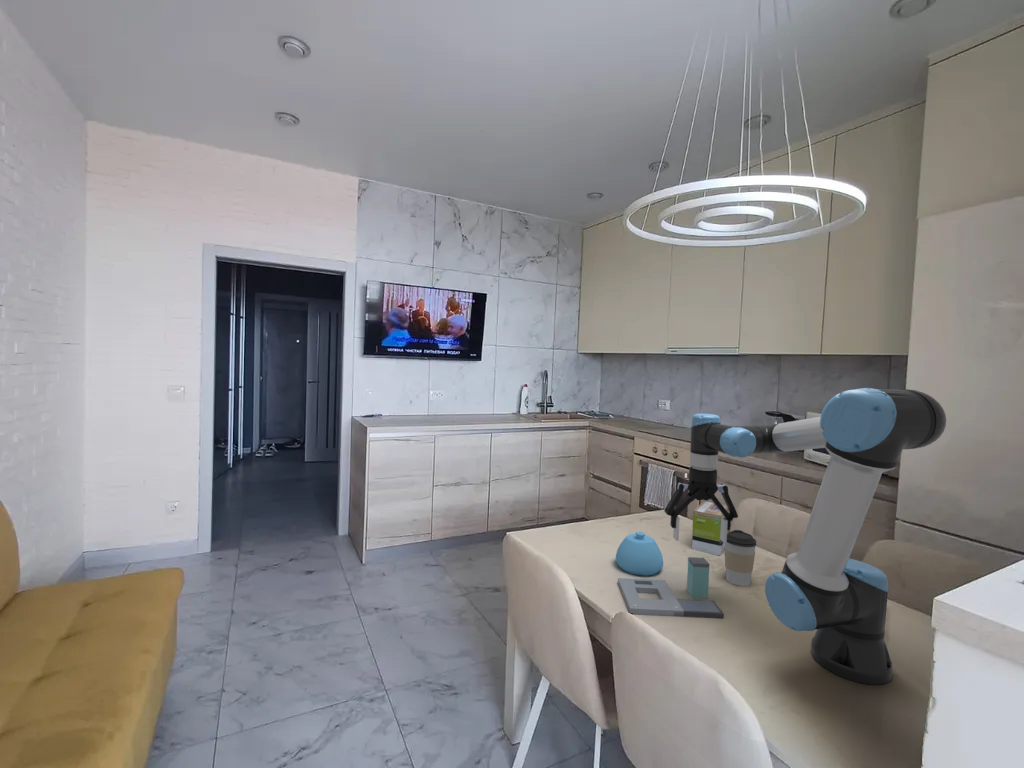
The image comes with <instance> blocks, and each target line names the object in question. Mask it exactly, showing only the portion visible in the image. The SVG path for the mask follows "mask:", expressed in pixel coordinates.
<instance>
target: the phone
mask: <svg viewBox="0 0 1024 768" xmlns="http://www.w3.org/2000/svg"><path fill="white" fill-rule="evenodd" d="M676 599H677V601H678V602H679V604H680V606H681V607H682V609H683V610H684V615H683V616H682V617H687V618H689V617H691V618H707V619H708V618H709V619H725V613H724V612H723V611H722V609H721V608H720V606H718V604H717V603H716V602H715V600H704V599H685V598H681V599H680V598H676ZM674 613H675V612H674ZM676 613H677V612H676ZM680 614H681V613H680Z"/></svg>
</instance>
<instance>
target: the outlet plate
mask: <svg viewBox="0 0 1024 768" xmlns="http://www.w3.org/2000/svg"><path fill="white" fill-rule="evenodd" d="M617 584H618V587H619V589H620V592H621V593H622V596H623V599H624V601H625V605H626V606H627V609H628V612H629V614H630V613H633V614H632V615H644V616H645V615H647V616H648V615H649V616H667V617H684V616H683V615H684V610H683V609H682V607H681V606H680V604H679V602H678V601H677V599H678V598H677V597H676V596H675V595H674V592H673V591H672V589H671V588H670V586H669V585H668V582H667V581H666V580H665V579H654V578H653V579H651V578H648V579H647V578H629V577H617ZM641 593H642V594H657V596H658V598H643V597H642V598H641V597H640V595H639V594H641ZM674 612H675V613H674ZM676 612H677V613H676ZM680 613H681V614H680Z"/></svg>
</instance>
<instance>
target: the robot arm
mask: <svg viewBox="0 0 1024 768" xmlns="http://www.w3.org/2000/svg"><path fill="white" fill-rule="evenodd" d="M824 405H825V406H824V407H823V409H822V411H821V414H820V416H817V417H810V418H805V419H799V420H793V421H786V422H780V423H775V424H769V425H768V424H767V425H727V424H722V423H721V418H720V416H719V415H718V414H713V413H695V414H694V415H693V416H692V418H691V426H690V452H689V453H690V454H689V467H688V469H689V470H688V482H687V483H681V482H680V481H678V482H677V483H676V484H677V485H676V489H675V491H674V493H673V494H672V496H671V498H670V500H669V501H668V503H667V504H666V507H665V508H664V513H665V514H666V515H667V516H670V523H669V524H670V527H671V528H672V529H673V531H672V532H673V533H672V536H673V537H672V538H674V540H675V541H679V540H680V539H679V537H680V519H681V518H680V517H679V515H680V514H681V513H682V512H683V511H684V510H685V509H686V508H687V507H688V506H689V505H690V504H691V503H693V502H694V501H695V500H697V501H706V502H709V500H711V501H712V503H714V504H715V505H716V506H717V508H718V509H719V510H720V511H721V513H722V514H723V515H724V517H725V518H724V517H721V532H720V539H721V540H722V541H723V542H724V543H726V542H727V530H731V526H732V525H731V522H732V521H733V520H734V519H738V517H739V515H738V512H737V510H736V508H735V505H734V503H733V500H732V499H731V497H730V494H729V488H728V486H727V485H726V484H724V483H720V485H718V483H717V482H718V470H717V469H718V465H719V452H720V453H723V454H726V455H728V456H730V457H738V458H747V457H749V456H751V455H752V454H753V455H754V454H755V455H756V454H783V453H787V452H792V451H793V452H794V451H804V450H805V451H806V450H814V449H825V450H826V451H827V452H828V454H829V456H830V458H829V461H828V464H827V466H826V469H825V471H824V472H825V473H824V475H823V478H822V481H821V484H820V487H819V489H818V492H817V495H816V498H815V501H814V504H813V507H812V510H811V513H810V516H809V519H808V521H807V524H806V527H805V530H804V533H803V536H802V538H801V541H800V543H799V547H798V551H796V552H792V553H790V554H789V555H787V557H786V559H785V562H784V565H783V567H782V569H781V571H780V572H777V571H776V572H774V573H772V574H770V575H768V577H767V578H766V580H765V584H764V593H765V597H766V600H767V603H768V606H769V609H770V610H771V612H772V613H773V615H774V616H775V617H776V619H777V620H779V621H780V623H781V624H783V626H785V627H787V628H788V629H790V630H792V631H795V632H804V631H805V632H813V631H815V633H814V636H813V637H812V638H811V644H810V653H811V655H812V658H813V659H814V660H815V661H816V663H818V664H819V665H820V666H822V667H824V669H826V670H828V671H829V672H832V673H833V674H835V675H837V676H839V677H842V678H844V679H847V680H849V681H853V682H857V683H859V684H865V685H884V684H888V683H889V682H890V681H891V680H892V679H893V663H892V660H891V656H890V654H889V650H888V646H887V644H886V640H885V635H886V630H885V629H886V621H887V617H886V616H887V608H888V607H887V606H888V605H887V604H888V594H889V592H890V591H889V590H890V589H889V583H888V582H889V580H888V576H887V575H886V574H885V572H884V571H882V570H881V569H880V568H877V567H876V566H873V565H871V564H869V563H866V562H863V561H860V560H857V559H853V558H850V556H851V555H852V551H853V549H854V547H855V544H856V542H857V539H858V536H859V533H860V531H861V528H862V525H863V523H864V521H865V519H866V515H867V513H868V510H869V508H870V505H871V503H872V500H873V499H874V495H875V494H876V493H875V492H876V490H877V487H878V486H879V483H880V480H881V477H882V474H883V473H886V472H889V471H893V470H895V469H896V467H897V464H898V462H899V459H900V458H901V455H902V452H903V450H913V449H919V448H925V447H926V446H929V445H932V444H933V443H935V442H936V441H937V440H938V439H939V438H940V437H942V435H943V433H944V431H945V429H946V426H947V416H946V415H947V414H946V411H945V410H944V408H943V406H942V405H941V404H940V403H939V401H937V400H936V399H935V398H934V397H933V396H931V395H930V394H928V393H925V392H924V391H923V392H922V391H919V390H916V389H907V388H906V389H904V388H903V389H902V388H901V389H896V388H895V389H893V388H892V389H891V388H889V389H888V388H886V389H885V388H884V389H883V388H873V387H863V388H862V387H861V388H856V389H849V390H843V391H841V392H840V393H838V394H836V395H834V396H833V397H832V398H830V400H828V401H827V403H826V404H824ZM686 489H687V491H688V492H687V493H686V494H685V496H684V498H683V499H681V498H682V495H683V493H684V492H685V491H686ZM717 492H720V493H721V496H722V498H723V501H724V503H725V505H727V507H728V509H729V512H730V513H728V512H727V511H726V509H725V508H724V507H723V506H722V505H723V503H721V502H720V500H719V499H718V498H717V496H716V495H715V494H716V493H717ZM680 499H681V500H680ZM679 501H680V502H679ZM678 502H679V503H678ZM891 678H892V679H891ZM890 679H891V680H890ZM888 681H889V682H888ZM887 682H888V683H887Z"/></svg>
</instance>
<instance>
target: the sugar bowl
mask: <svg viewBox="0 0 1024 768" xmlns="http://www.w3.org/2000/svg"><path fill="white" fill-rule="evenodd" d="M615 561H616V563H617V564H618V566H619V568H620V569H622V570H623V571H625V572H626V573H628V574H631V575H635V576H643V577H645V576H646V577H647V576H653V575H656V574H658V573H659V572H660V571H662V569H663V567H664V558H663V553H662V551H661V549H660V547H659V545H658V544H657V542H656V540H655V539H654V537H651V536H649V535H647V534H646V533H645V532H643V531H636V532H635V533H630V534H627V535H626V536H625V537H624V538H623V539H622V541H621V543H620V544H619V546H618V548H617V550H616V553H615Z"/></svg>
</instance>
